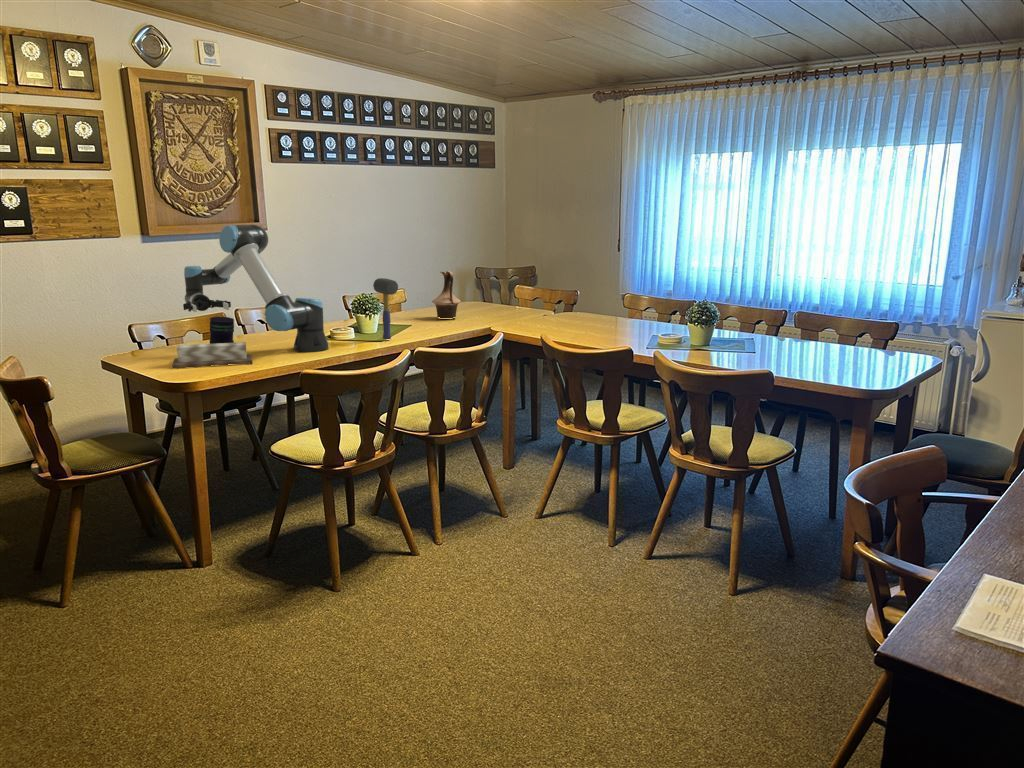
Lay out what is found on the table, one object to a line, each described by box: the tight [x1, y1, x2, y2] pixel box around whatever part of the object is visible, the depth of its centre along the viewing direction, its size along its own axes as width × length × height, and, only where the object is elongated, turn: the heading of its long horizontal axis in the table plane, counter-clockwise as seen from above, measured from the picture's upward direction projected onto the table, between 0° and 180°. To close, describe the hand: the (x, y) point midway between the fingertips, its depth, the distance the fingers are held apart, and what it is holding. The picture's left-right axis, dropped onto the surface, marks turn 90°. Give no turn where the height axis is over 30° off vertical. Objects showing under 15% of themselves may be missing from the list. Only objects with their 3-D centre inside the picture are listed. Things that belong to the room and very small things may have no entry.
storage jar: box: [209, 316, 235, 344], centre depth 316 cm, size 10×10×15 cm
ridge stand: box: [171, 341, 253, 369], centre depth 299 cm, size 30×14×8 cm, turn 111°
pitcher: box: [431, 270, 462, 318], centre depth 421 cm, size 18×17×28 cm
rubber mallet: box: [372, 277, 399, 340], centre depth 352 cm, size 12×8×30 cm, turn 42°
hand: (211, 307), depth 322 cm, fingers open, 13 cm apart
